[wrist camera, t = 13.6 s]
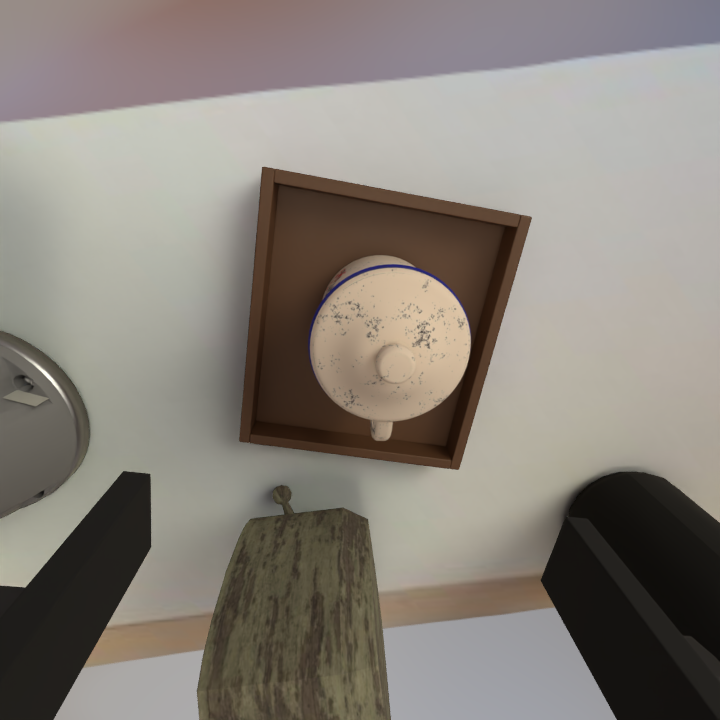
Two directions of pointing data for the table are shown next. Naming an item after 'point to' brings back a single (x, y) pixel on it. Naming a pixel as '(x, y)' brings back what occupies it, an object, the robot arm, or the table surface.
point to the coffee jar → (661, 547)
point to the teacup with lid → (388, 341)
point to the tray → (310, 280)
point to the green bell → (297, 623)
